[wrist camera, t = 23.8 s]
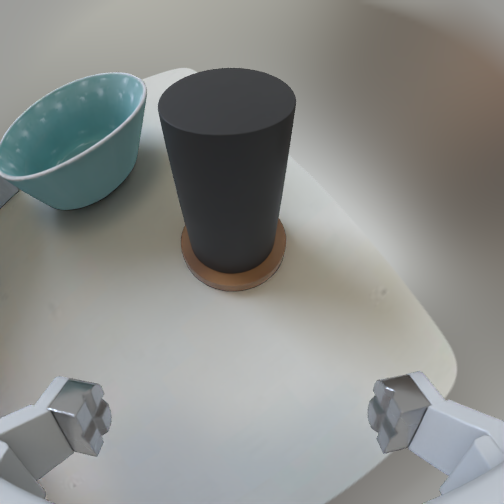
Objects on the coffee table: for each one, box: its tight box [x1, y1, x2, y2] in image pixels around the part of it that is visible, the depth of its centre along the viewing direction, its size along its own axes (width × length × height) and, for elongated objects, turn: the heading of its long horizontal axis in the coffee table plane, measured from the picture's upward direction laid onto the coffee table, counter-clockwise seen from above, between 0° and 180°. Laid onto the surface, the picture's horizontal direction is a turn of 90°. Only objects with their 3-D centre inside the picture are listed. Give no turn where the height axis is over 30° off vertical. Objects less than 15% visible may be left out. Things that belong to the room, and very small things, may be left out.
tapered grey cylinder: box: [158, 68, 296, 274], centre depth 18 cm, size 6×6×12 cm
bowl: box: [0, 72, 147, 210], centre depth 24 cm, size 16×16×8 cm
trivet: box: [181, 218, 286, 291], centre depth 23 cm, size 8×8×1 cm
